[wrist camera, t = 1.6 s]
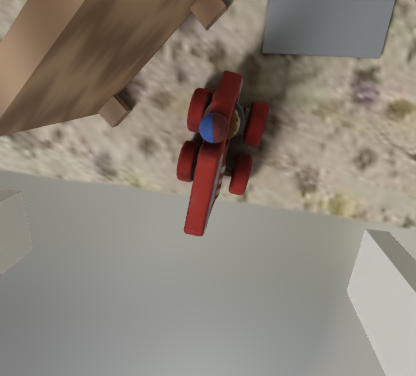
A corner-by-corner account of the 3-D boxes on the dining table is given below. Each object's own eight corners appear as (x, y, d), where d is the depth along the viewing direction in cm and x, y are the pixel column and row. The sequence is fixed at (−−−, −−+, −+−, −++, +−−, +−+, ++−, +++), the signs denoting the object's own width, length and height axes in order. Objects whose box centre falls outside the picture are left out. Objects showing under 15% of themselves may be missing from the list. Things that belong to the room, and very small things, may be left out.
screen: (115, 127, 29) (12, 164, 17) (73, 82, 28) (-74, 85, 15) (229, 6, 24) (208, -79, 11) (182, -55, 23) (98, -229, 10)
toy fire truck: (274, 83, 26) (289, 84, 16) (239, 199, 31) (236, 253, 21) (202, 65, 26) (176, 57, 17) (179, 183, 31) (149, 230, 21)
